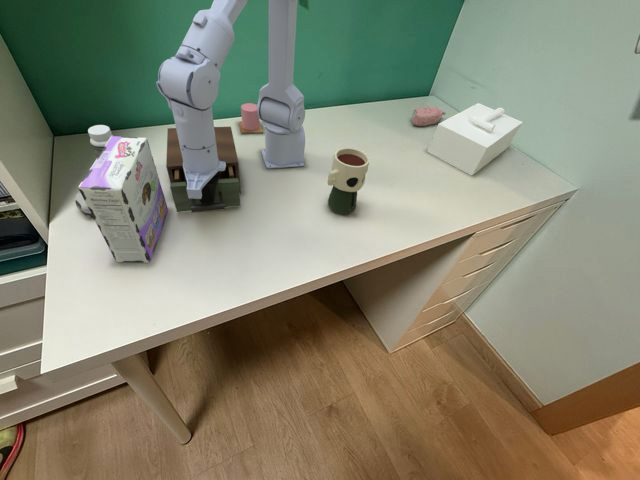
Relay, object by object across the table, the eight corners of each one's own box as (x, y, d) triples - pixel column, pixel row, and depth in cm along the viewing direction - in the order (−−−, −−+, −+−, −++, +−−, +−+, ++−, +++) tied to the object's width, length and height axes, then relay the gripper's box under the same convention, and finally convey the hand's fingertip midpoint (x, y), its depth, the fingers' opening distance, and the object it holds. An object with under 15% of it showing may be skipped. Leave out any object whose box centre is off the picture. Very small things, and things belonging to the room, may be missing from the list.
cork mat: (259, 122, 95) (259, 120, 94) (263, 133, 91) (263, 131, 91) (238, 123, 93) (238, 121, 93) (241, 134, 89) (241, 132, 89)
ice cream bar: (453, 111, 107) (421, 116, 101) (448, 123, 110) (416, 129, 104) (440, 102, 110) (408, 107, 104) (435, 114, 114) (403, 119, 107)
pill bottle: (115, 171, 72) (101, 137, 66) (95, 167, 73) (80, 132, 66) (128, 160, 76) (116, 126, 70) (109, 156, 76) (95, 122, 70)
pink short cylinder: (262, 125, 93) (262, 106, 89) (253, 132, 90) (252, 113, 86) (248, 120, 94) (247, 101, 90) (238, 126, 91) (237, 107, 87)
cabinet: (240, 193, 72) (238, 162, 66) (174, 198, 69) (166, 166, 63) (233, 156, 82) (230, 126, 76) (174, 159, 78) (167, 128, 72)
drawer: (243, 221, 65) (241, 197, 61) (176, 228, 62) (169, 203, 57) (233, 168, 77) (231, 144, 72) (176, 172, 73) (171, 147, 69)
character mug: (333, 225, 69) (344, 174, 59) (312, 206, 72) (319, 155, 63) (369, 207, 74) (383, 158, 65) (348, 190, 78) (359, 141, 68)
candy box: (138, 209, 65) (110, 133, 53) (169, 210, 66) (148, 136, 54) (114, 263, 56) (74, 186, 44) (151, 263, 57) (121, 188, 45)
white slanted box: (427, 151, 95) (441, 115, 87) (466, 128, 109) (481, 95, 101) (471, 175, 89) (491, 139, 81) (507, 148, 102) (527, 114, 95)
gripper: (215, 167, 49) (224, 231, 59) (228, 121, 59) (233, 182, 69) (166, 164, 48) (183, 229, 58) (187, 117, 58) (199, 180, 68)
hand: (208, 203), depth 63 cm, fingers closed
